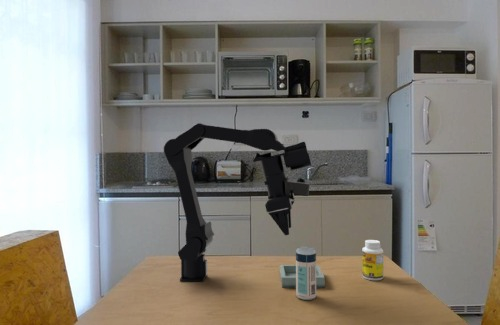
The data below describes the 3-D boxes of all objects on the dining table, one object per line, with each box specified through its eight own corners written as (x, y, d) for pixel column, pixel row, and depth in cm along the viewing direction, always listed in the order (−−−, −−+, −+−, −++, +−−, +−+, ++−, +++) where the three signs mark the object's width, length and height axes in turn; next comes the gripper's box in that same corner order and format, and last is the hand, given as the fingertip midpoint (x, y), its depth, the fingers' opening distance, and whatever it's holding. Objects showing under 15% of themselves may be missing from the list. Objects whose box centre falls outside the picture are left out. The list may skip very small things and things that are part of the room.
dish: (281, 287, 95) (281, 277, 95) (280, 273, 106) (279, 264, 106) (324, 287, 95) (324, 277, 95) (318, 273, 106) (318, 264, 106)
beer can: (315, 293, 91) (315, 245, 90) (317, 301, 86) (316, 250, 86) (295, 293, 91) (295, 245, 91) (296, 300, 86) (296, 250, 86)
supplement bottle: (358, 276, 103) (357, 240, 103) (373, 273, 105) (373, 238, 105) (371, 282, 98) (371, 244, 98) (387, 279, 100) (387, 242, 100)
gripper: (303, 169, 88) (318, 232, 88) (304, 166, 107) (317, 219, 107) (258, 179, 90) (273, 241, 90) (267, 175, 109) (280, 226, 108)
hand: (288, 231), depth 99 cm, fingers open, 9 cm apart
